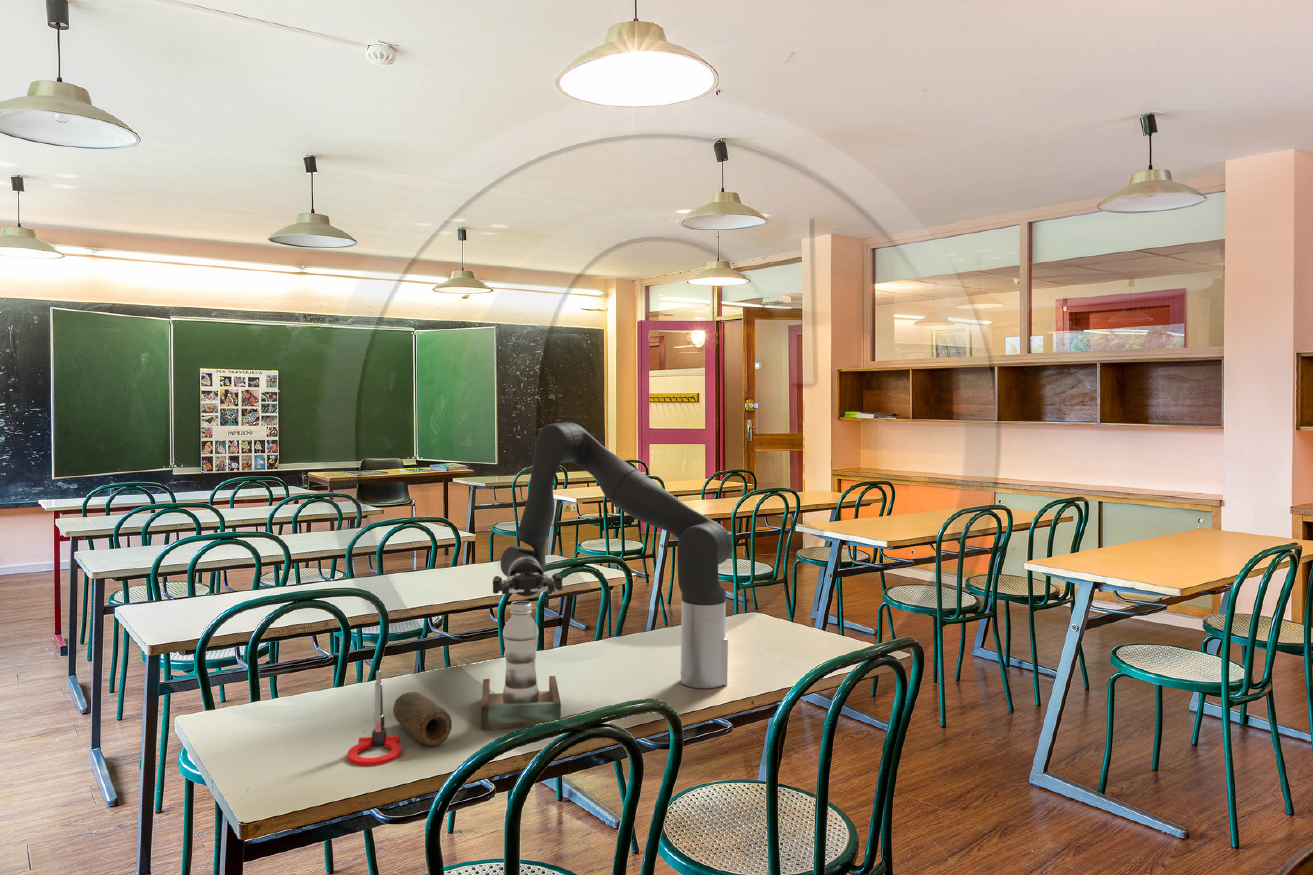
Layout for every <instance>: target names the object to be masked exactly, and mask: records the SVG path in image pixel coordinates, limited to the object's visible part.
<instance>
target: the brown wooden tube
mask: <svg viewBox="0 0 1313 875" xmlns="http://www.w3.org/2000/svg"><path fill="white" fill-rule="evenodd" d="M392 712H393V717H394V718H395V720H396V721H397V723H398V724H399V725H400V726H401V727H402V728H403V730H405V731H406V732H407V733H408V734H409V735H411V736H412V738H415V740H417V741H419V742H420V743H421V744H424V745H425V746H426V745H427V746H435V747H436V746H438V745H440V744H442V743H443V742H445V741H446V739H447V738H448V737H449V735H450V733H451V730H452V718H451V716H450V714H449V713H448V712H447V711H445V709H443V708H442V707H441V706H439V705H438V704H437V703H435V702H434V701H432V700H431V699H430V698H428V697H426V695H425V696H424V694H421V693H419V692H417V691H408V692H404V693H402V694H400V695H399V696H398V697H397V698H396V699H395V700H394V704H393V711H392Z"/></svg>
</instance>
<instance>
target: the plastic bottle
mask: <svg viewBox="0 0 1313 875" xmlns="http://www.w3.org/2000/svg"><path fill="white" fill-rule="evenodd" d="M532 613H533V611H532V602H531V601H528V600H516V601H512V602H511V603H510V614H511V615H510V618H509V619H508V621H507V622H506V623H505V624H504V627H503V630H502V636H503V638H502V639H503V644H504V645H503V646H504V650H505V661H506V662H505V667H506V668H505V676H504V677H505V678H504V685H503V692H502V693H503V702H504V704H515V703H535V702H538V699H539V692H540V691H539V685H538V682H537V680H538V679H537V671H536V670H537V669H536V659H537V657H536V656H537V647H538V641H539V640H538V638H539V627H538V624H537V623H536V621H535V620H534V619H533V618H532V616H531V615H532Z"/></svg>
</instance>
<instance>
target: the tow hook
mask: <svg viewBox="0 0 1313 875" xmlns="http://www.w3.org/2000/svg"><path fill="white" fill-rule="evenodd" d="M381 677H382V670H376V671H375V683H374V700H375V701H374V703H375V704H374V708H375V710H374V711H375V714H374V716H373V724H374V726H373V730H372V732H371V736H362V737H358V743H357V744H355V745H353V746H352V747H350V749H349V750H348V751H347V753H346V754H347V756H346V758H347V761H348V762H349V763H350V764H353V765H356V766H360V767H361V766H362V767H372V766H380V765H384V764H387V763H390V762H392V761H394V760H396V759H397V758H399V756H400V755H402V744H400V743H401V736H400V735H388V736H387V728H386V727H385V715H384V710H383V709H384V708H383V705H384V703H383V699H384V698H383V697H384V696H383V682H382V678H381ZM383 746H384V748H386V749H389V750H390V751H389V752H388V753H387V754H384V755H381V756H376V757H363V756H360V755H359V753H361V752H362V751H364V750H365V751H366V750H369V749H371V747H383Z"/></svg>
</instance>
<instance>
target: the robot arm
mask: <svg viewBox="0 0 1313 875" xmlns="http://www.w3.org/2000/svg"><path fill="white" fill-rule="evenodd" d="M534 445H535V446H534V451H533V457H532V458H533V460H532V467H531V474H530V482H529V488H528V494H527V498H526V503H525V506H524V510H523V513H522V516H521V519H520V522H519V526H518V530H517V537H518V539H519V540H520V541H521V542H523V543H524V544H526V545H528V546H530V547H531V548H532V549H533V550H532V549H529V548H524V547H521V546H516V545H512V546H508V547H507V548H506V549H505V550H504V551H503V553H502V554H501V557H500V570H501V571H502V574H503V575H504V576H506V577H507V578H506V579H503V578H502V577H501V576H498V575H496V576H493V579H492V594H495V595H497V594H499V593H500V592H501V594H502V595H505V597H509V596H510V594H515V595H518V596H519V597H526V598H527V597H532V596H534V595H536V594H538V593H544V592H547V594H548V595H552V594H553V593H554V592H555V591H556V590H558V591H562V590H563V576H561V574H560V573H558V572H555V573H553V574H552V576H550V577H549V576H548V575H547V574H544V573H545V570H546V545H547V539H548V536H549V532H550V529H551V526H552V524H553V523H552V522H553V520H554V515H555V496H554V483H555V477H556V475H557V472H558V470H559V468H560V466H561V464H566V463H571V464H574V465H576V466H578V467H580V468H582V469H583V470H585V471H586V472H587V473H589V474H590V475H591V476H592V477H593V478H594V479H595V481H596V483H597V485H599V487H600V489H601V491H602V493H603V495H604V496H605V497H606V498H607V499H608V501H610V502H611V503H612V504H613V505H614V506H616V507H617V508H618V509H619V510H621V511H622V512H624V513H625V514H627V515H628V516H630V517H631V518H634V519H635V520H638V521H640V522H643V523H644V524H646V525H647V524H648V525H650V526H652V527H655V528H658V529H660V530H663V531H665V532H667V533H669V534H671V535H672V536H674V537H676V538H677V539H678V543H677V554H676V555H677V556H676V560H677V561H676V562H677V581H678V582H677V583H678V587H679V590H680V592H681V619H680V620H681V621H680V622H681V624H680V626H681V628H680V629H681V632H680V633H681V635H680V636H681V637H680V640H681V641H680V683H681V684H683V685H685V686H687V687H690V688H695V689H713V688H718V687H721V686H728V672H729V670H728V668H729V667H728V659H729V658H728V657H729V650H728V649H729V640H728V638H727V637H726V607H727V606H726V604H727V601H726V600H727V594H726V592H727V590H726V588H725V587H724V586H723V585H722V584H721V583H720V580H719V565H722V564H723V563H724V562H726V561H727V560H728V559H729V558H730V557H732V556H731V555H732V554H733V550H734V544H733V543H734V542H733V540H732V537H731V536H732V535H731V534H730V533H729V531H728V529H726V528H725V527H724V526H723V525H722V524H720V523H718V522H716V521H715V520H713V519H712V518H709V517H708V516H706V515H703V514H702V513H700V512H698V511H696V510H695V509H693V508H691V507H689V506H688V505H686V504H685V503H683V502H682V501H681V500H680V499H678V498H677V497H676V496H675V495H673V494H672V493H670V492H669V491H668V490H666V489H665V488H664V487H662V486H660V485H659V484H658V483H657V482H656V481H654V480H652V479H651V478H650V477H648V476H647V475H646V474H644V473H643V472H641V471H640V470H639V469H637V468H636V467H634V466H633V465H631V464H629V463H628V462H626V461H625V460H623V458H621V457H620V456H617V454H615V453H613V452H612V451H610V450H609V449H608V448H606V447H605V446H604V445H602V443H600V442H599V441H598V440H597V439H596V438H595V437H594V436H593V435H592V434H590V432H588V431H587V430H586V429H585V428H583V427H582V426H581V425H579V424H577V423H574V422H569V421H567V422H556V423H549V424H546V425H545V426H543V427H541V429H540V430H539V432H538V434H537V437H536V440H535V444H534Z"/></svg>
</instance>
